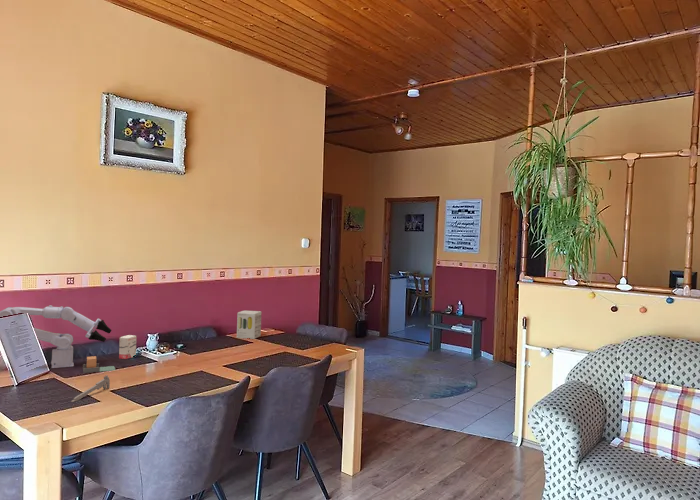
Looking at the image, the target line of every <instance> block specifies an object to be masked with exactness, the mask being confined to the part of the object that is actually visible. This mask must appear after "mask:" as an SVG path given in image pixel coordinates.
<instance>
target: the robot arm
mask: <svg viewBox="0 0 700 500" xmlns="http://www.w3.org/2000/svg"><path fill="white" fill-rule="evenodd" d="M18 313H28V315H27V316H42V317H43V318H45V319H58V320H59V319H61V320H63V321H68V322H70V323H72V324H73V325H75V326H77V327H78V328H80V329H82V330H84V331H86V334H85V336H84V337H85V338H88V340H91V341H99V342H101V343H102V342H103V343H105V342H106V340H107V337H105V336H103V335H102V334H100V333H99V332H98V331H97V330H99V331H102V332H105V333H107V334H110V333H111V332H112V329H111V328H110V327H109V325H108V324H106V323H105V320H104V319H100V318H97V319H96V320H95V321H94V320H91V319H90V318H88V317H87V316H85V315H83V314H81V313H79V312H78V311H76V310H74V309H73V308H72V307H70V306H65V307H64V306H61V305H60V306H53V305H52V304H51V305H48V306H45V307H43V308H37V307H26V306H14V307H12V306H8V307H6V308H4V309H2V310H0V317H3V316H8V315H13V314H18ZM33 328H34V330H35V332H36V335H37V337H38V339H37V340H39V341H43V342H45V343H50V344H51V345H53V346H56V348H53V349H52V351H51V360H50V364H51V369H55V368H56V369H58V368H69V367H74V366H75V365H74V346H73V345H72V344H73V342H74V336H73V335H72V334H70V333H58V332H57V333H55V332H52V331H48V330H44V329H41V328H36V327H33Z"/></svg>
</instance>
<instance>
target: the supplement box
mask: <svg viewBox="0 0 700 500" xmlns="http://www.w3.org/2000/svg"><path fill="white" fill-rule="evenodd" d="M262 314H263V313H262V311H260V310H241V311H238V312H237V318H236V319H237V320H236V322H237V323H236V338H237V339H247V338H250V340H255V339H257V338H259V337H261V335H262Z"/></svg>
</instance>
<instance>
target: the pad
mask: <svg viewBox="0 0 700 500" xmlns="http://www.w3.org/2000/svg"><path fill="white" fill-rule="evenodd" d="M99 367H100V372H109V371H116V367H115V366H114V365H109V366H99Z"/></svg>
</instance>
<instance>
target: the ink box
mask: <svg viewBox="0 0 700 500" xmlns="http://www.w3.org/2000/svg"><path fill="white" fill-rule="evenodd" d="M118 345H119V346H118V348H119V349H118V351H119V352H118V354H119V355H118V359H119V360H121V359H122V360H123V359H124V360H127V359H133V358H134V357H133V356H134V355H136V356H137V335H134V334H133V335H132V334H128V335H123V336H120V337H119V343H118Z"/></svg>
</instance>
